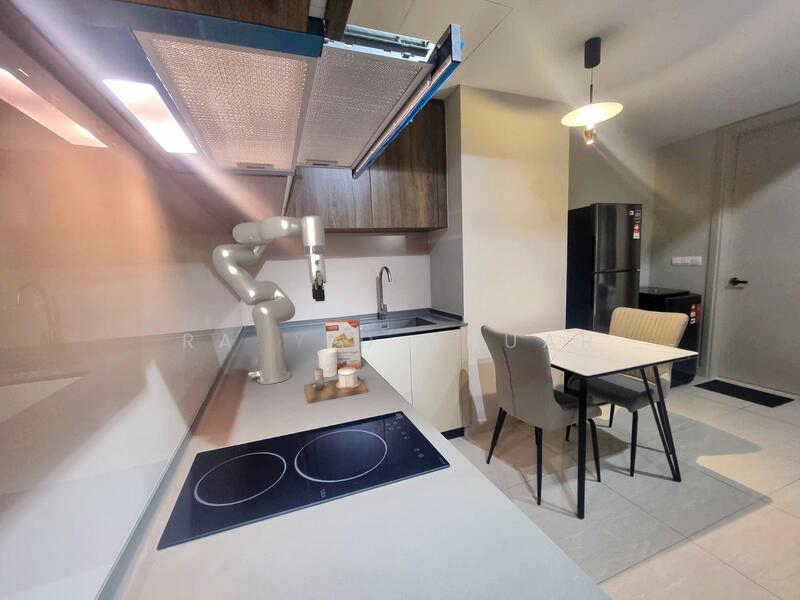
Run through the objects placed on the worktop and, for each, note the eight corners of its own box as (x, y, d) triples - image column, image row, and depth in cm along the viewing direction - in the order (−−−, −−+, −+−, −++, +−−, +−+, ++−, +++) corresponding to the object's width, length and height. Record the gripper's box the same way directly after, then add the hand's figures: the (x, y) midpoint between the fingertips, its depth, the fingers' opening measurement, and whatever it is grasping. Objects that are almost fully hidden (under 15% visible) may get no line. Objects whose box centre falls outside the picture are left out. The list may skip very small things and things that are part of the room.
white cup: (332, 379, 126) (330, 354, 125) (315, 377, 128) (313, 353, 127) (342, 372, 133) (340, 348, 132) (325, 371, 136) (324, 348, 135)
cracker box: (328, 370, 136) (324, 322, 134) (330, 366, 142) (327, 320, 140) (361, 368, 136) (358, 320, 134) (362, 364, 142) (359, 318, 140)
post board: (307, 403, 104) (305, 378, 103) (304, 388, 117) (302, 366, 116) (366, 392, 111) (365, 368, 110) (357, 379, 124) (356, 358, 123)
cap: (359, 384, 113) (358, 371, 113) (340, 388, 111) (339, 374, 111) (355, 378, 120) (354, 365, 119) (337, 381, 117) (336, 368, 117)
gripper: (329, 250, 106) (332, 301, 108) (322, 252, 122) (326, 297, 124) (305, 251, 104) (310, 303, 106) (302, 253, 120) (306, 298, 122)
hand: (318, 299), depth 115 cm, fingers open, 9 cm apart
